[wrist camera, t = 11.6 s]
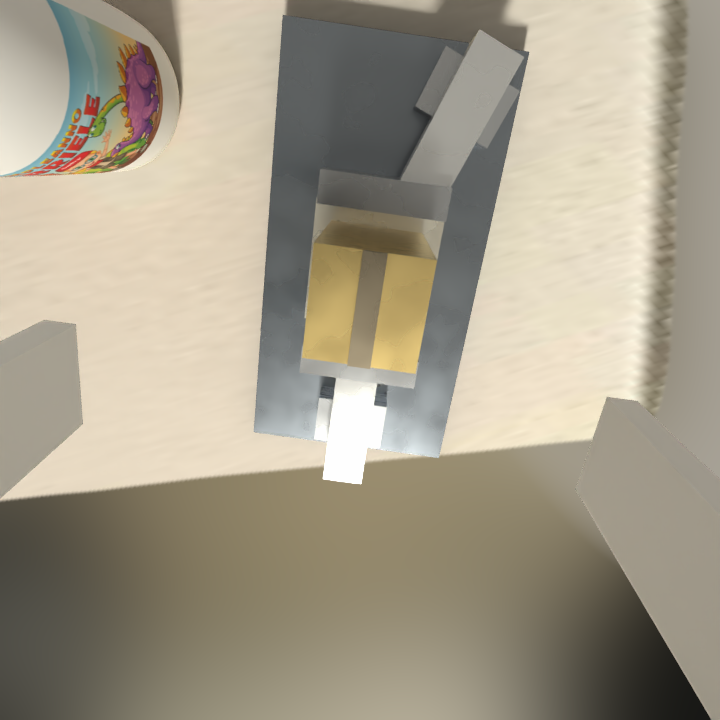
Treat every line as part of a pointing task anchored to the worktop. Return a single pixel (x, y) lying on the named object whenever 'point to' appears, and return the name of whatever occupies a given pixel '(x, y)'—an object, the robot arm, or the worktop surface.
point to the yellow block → (368, 296)
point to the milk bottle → (81, 89)
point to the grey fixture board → (379, 218)
